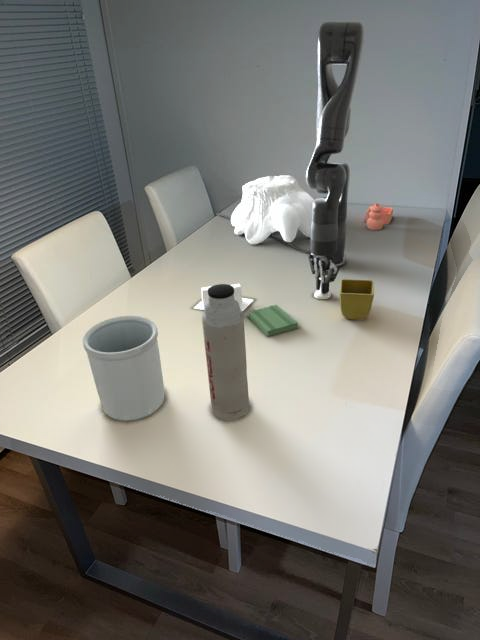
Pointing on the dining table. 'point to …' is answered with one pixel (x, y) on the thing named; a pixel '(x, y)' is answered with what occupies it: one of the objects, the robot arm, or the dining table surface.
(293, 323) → the green flat rectangular block
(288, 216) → the tree stump
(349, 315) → the flower pot
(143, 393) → the utensil holder
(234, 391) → the thermos bottle
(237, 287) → the napkin holder
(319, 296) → the chess piece
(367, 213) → the pottery
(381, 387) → the dining table surface
